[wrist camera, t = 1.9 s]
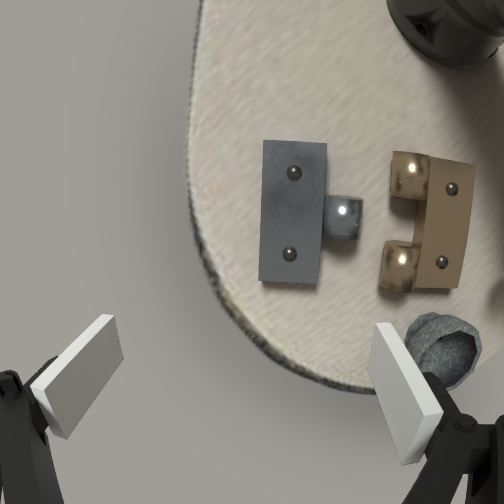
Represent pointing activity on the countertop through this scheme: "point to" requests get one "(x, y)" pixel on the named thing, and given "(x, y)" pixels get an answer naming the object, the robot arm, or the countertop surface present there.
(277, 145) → the loose leaf
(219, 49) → the countertop surface
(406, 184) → the fixed leaf
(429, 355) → the mortar and pestle
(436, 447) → the robot arm
